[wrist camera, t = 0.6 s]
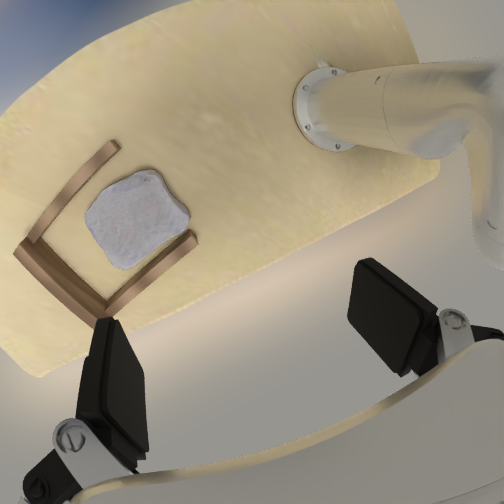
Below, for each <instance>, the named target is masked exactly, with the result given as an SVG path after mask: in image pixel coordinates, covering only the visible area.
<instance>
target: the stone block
mask: <svg viewBox="0 0 504 504" xmlns="http://www.w3.org/2000/svg"><path fill="white" fill-rule="evenodd" d="M190 217H191V216H190V214H189V212H188V210H187V208H186V207H185V206H184V205H183V204H182V203H181V202H180V201H178V200H177V199H176V198H175V197H174V196H173V195H171V193H170V192H169V191H168V189H167V187H166V183H165V182H164V180H163V178H162V176H161V175H160V174H159V173H157V172H156V171H155V170H150V169H149V170H142V171H138V172H136V173H134V174H133V175H131V176H129V177H127V178H125V179H122V180H120V181H118V182H117V183H115V184H113V185H111V186H109V187H108V188H106V189H104V190H103V191H102V192H101V193H100V195H99V196H98V197H97V199H96V200H95V201H94V202H93V204H92V206H91V207H90V208H89V209H88V210H87V211H86V213H85V222H86V225H87V227H88V229H89V230H90V232H91V233H92V235H93V237H94V238H95V240H96V241H97V243H98V244H99V246H100V247H101V248H102V249H103V250H104V252H105V254H106V256H107V258H108V260H109V261H110V262H111V264H112V265H114V267H116V268H119V269H120V268H121V269H122V270H128V269H130V268H131V267H133V266H135V265H136V264H138V263H139V262H140V261H141V260H143V259H144V258H146V257H147V256H148V255H149V254H151V253H152V252H153V251H154V250H155V249H156V248H158V247H159V246H160V245H161V244H163V243H164V242H166V241H168V240H169V239H170V238H172V237H174V236H177V235H179V234H180V233H181V232H183V231H184V230H185V229H186V228H187V226H188V224H189V220H190Z"/></svg>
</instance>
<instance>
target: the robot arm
mask: <svg viewBox="0 0 504 504" xmlns="http://www.w3.org/2000/svg"><path fill="white" fill-rule="evenodd" d="M302 87H303V88H304V90H303V88H302ZM293 110H294V116H295V119H296V122H297V125H298V127H299V128H300V130H301V132H302V133H303V135H304V136H305V137H306V138H307V139H308V140H309V141H310V142H311V143H312V144H314V145H315V146H317V147H319V148H321V149H324V150H328V151H334V152H340V151H345V150H348V149H350V148H353V147H354V146H355V145H362V146H367V147H373V148H378V149H382V150H387V151H392V152H396V153H400V154H405V155H409V156H413V157H417V158H421V159H430V160H433V159H439V158H442V157H444V156H447V155H448V154H450V153H451V152H452V151H454V150H455V149H456V148H457V147H458V146H460V145H461V144H463V145H464V146H465V148H466V151H467V155H468V161H469V168H470V176H471V200H472V230H473V237H474V241H475V244H476V246H477V249H478V250H479V252H480V253H481V255H482V257H483V258H484V259H485V260H486V261H487V262H488V263H489V264H491V265H492V266H494V267H496V268H497V269H500V270H502V271H504V55H503V54H500V55H498V54H497V55H487V56H479V57H472V58H466V59H459V60H451V61H443V62H432V63H421V64H408V65H398V66H389V67H382V68H375V69H368V70H362V71H356V72H351V73H347V72H346V71H344V70H341V69H338V68H334V67H324V68H319V69H316V70H313V71H312V72H310V73H308V74H307V75H306V76H304V77H303V78H302V80H301V81H300V82H299V84H298V86H297V88H296V90H295V94H294V99H293ZM305 126H306V129H305ZM335 146H336V147H335ZM437 310H438V308H437V307H436V306H435V305H434V304H432V303H431V302H430V301H429V300H427V299H426V298H425V297H424V296H422V295H421V294H420V293H419V292H417V291H416V290H415V289H413V288H412V287H411V286H409V285H408V284H407V283H405V282H404V281H403V280H402V279H400V278H399V277H398V276H396V275H395V274H394V273H392V272H391V271H390V270H388V269H387V268H386V267H384V266H383V265H381V264H380V263H379V262H377V261H376V260H375V259H373V258H366V259H362V260H359V261H358V262H357V265H356V266H355V268H354V275H353V282H352V289H351V295H350V302H349V308H348V314H347V318H348V320H349V322H350V324H351V325H352V326H353V327H354V328H355V329H356V330H357V332H358V333H359V334H360V335H361V336H362V337H363V338H364V339H365V340H366V341H367V343H368V344H369V345H370V346H371V347H372V349H373V350H374V351H375V352H376V353H377V354H378V355H379V357H380V358H381V359H382V360H383V361H384V362H385V363H386V364H387V366H388V367H389V368H390V369H391V370H392V371H393V372H394V373H397V374H398V375H399V376H400V377H403V376H404V375H406V374H408V373H409V372H410V371H411V369H412V370H413V371H414V381H413V382H412V383H410V384H409V385H407V386H406V387H404V388H402V389H401V390H399V391H397V392H396V393H394V394H392V395H391V396H389V397H387V398H385V399H384V400H382V401H380V402H379V403H376V404H374V405H373V406H371V407H369V408H367V409H365V410H363V411H361V412H359V413H357V414H355V415H353V416H351V417H349V418H347V419H345V420H343V421H341V422H339V423H336V424H334V425H332V426H330V427H327V428H325V429H323V430H320V431H318V432H315V433H313V434H310V435H307V436H305V437H302V438H300V439H297V440H294V441H291V442H288V443H285V444H282V445H280V446H277V447H274V448H270V449H267V450H264V451H260V452H257V453H253V454H249V455H246V456H242V457H238V458H234V459H229V460H225V461H220V462H216V463H210V464H206V465H200V466H194V467H188V468H182V469H175V470H167V471H159V472H151V473H143V474H142V473H141V472H140V471H139V470H137V469H136V467H137V460H146V455H145V452H149V442H148V432H147V420H146V405H145V384H144V383H145V382H144V372H143V369H142V367H141V365H140V363H139V361H138V359H137V357H136V355H135V353H134V351H133V350H132V347H131V345H130V343H129V341H128V339H127V337H126V335H125V333H124V331H123V328H122V326H121V324H120V322H119V320H114V318H113V317H105V318H99V319H97V321H96V325H95V329H94V333H93V337H92V342H91V346H90V351H89V356H87V357H86V358H85V361H84V365H83V370H82V375H81V381H80V388H79V394H78V401H77V409H76V418H69V419H65V420H63V421H62V422H60V423H59V424H58V425H57V426H56V428H55V430H54V432H53V437H52V440H53V445H54V449H53V450H52V451H51V452H50V453H49V454H48V455H47V456H46V457H45V458H44V459H42V460H41V461H40V462H39V463H38V464H37V465H36V466H35V467H34V468H33V469H32V470H31V471H29V472H28V473H27V475H26V476H25V478H24V480H23V491H24V494H25V498H22V497H21V498H20V500H19V502H18V504H504V333H503V332H502V331H500V330H498V329H494V328H488V327H481V326H474V325H470V323H469V321H468V319H467V317H466V316H465V315H464V314H463V313H462V312H460V311H458V310H455V309H444V310H442V311H441V312H440V314H439V316H437V315H436V312H437Z"/></svg>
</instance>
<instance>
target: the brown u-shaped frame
mask: <svg viewBox="0 0 504 504" xmlns="http://www.w3.org/2000/svg"><path fill="white" fill-rule="evenodd" d="M120 149H121V148H120V147H119V146H118V145H117V144H116V142H115V141H114V140H111V141H108V142H107V143H106V144H105V145H104V146H103V147H102V148H101V149H100V150H99V151H98V152H97V153H96V154H95V155H94V156H93V157H92V158H91V159H90V160H89V161H88V162H87V163H86V164H85V165H84V166H83V167H82V168H81V169H80V171H79V172H78V173H77V174H76V175H75V176H74V177H73V178H72V179H71V180H70V182H69V183H68V184H67V185H66V186H65V187H64V188H63V190H62V191H61V192H60V193H59V194H58V196H57V197H56V198H55V199H54V201H53V202H52V203H51V204H50V206H49V207H48V208H47V209H46V211H45V212H44V213H43V215H42V216H41V217H40V219H39V220H38V221H37V223H36V224H35V226H34V227H33V228H32V230H31V231H30V233H29V234H28V236H27V237H26V238H25V239H24V240H23V241H22V242H21V243H20V244H19V245H18V246H17V248H16V250H15V251H14V253H13V255H14V256H15V257H16V258H17V259H18V260H19V261H20V262H21V264H22V265H23V266H24V267H25V268H26V269H27V270H28V271H29V272H30V273H31V274H32V275H33V276H34V277H35V278H36V279H37V280H38V281H39V282H40V283H41V284H42V285H43V286H44V287H45V288H46V289H47V290H48V291H49V292H50V293H51V294H53V295H54V296H55V297H56V298H57V299H58V300H59V301H60V302H61V303H62V304H64V305H65V306H66V307H67V308H68V309H69V310H70V311H72V312H73V313H74V314H75V315H76V316H78V317H79V318H80V319H81V320H82V321H84V322H85V323H86V324H87V325H89V326H90V327H91V328H93V329H95V325H96V321H97V319H99V318H105V317H113V316H114V315H115V314H116V313H117V312H118V311H120V310H121V309H122V308H123V307H124V306H125V305H127V304H128V303H129V302H130V301H131V300H132V299H133V298H135V297H136V296H137V295H138V294H139V293H140V292H142V291H143V290H144V289H145V288H146V287H148V286H149V285H150V284H151V283H152V282H153V281H155V280H156V279H157V278H158V277H159V276H161V275H162V274H163V273H164V272H165V271H167V270H168V269H169V268H170V267H171V266H173V265H174V264H175V263H176V262H178V261H179V260H180V259H181V258H182V257H184V256H185V255H186V254H187V253H189V252H190V251H191V250H192V249H194V248H195V247H196V246H197V245H199V244H198V240H197V237H196V236H195V235H194V234H193V232H192V231H191V230H190V229H189V230H188V231H187V232H185V233H184V234H183V235H182V236H181V237H179V238H178V239H177V240H176V241H175V242H173V243H172V244H171V245H170V246H169V247H167V248H166V249H165V250H164V251H163V252H162V253H160V254H159V255H158V256H157V257H156V258H154V259H153V260H152V261H151V262H150V263H149V264H148V265H146V266H145V267H144V268H143V269H142V270H141V271H140V272H138V273H137V274H136V275H135V276H134V277H133V278H132V279H131V280H129V281H128V282H127V283H126V284H125V285H124V286H123V287H122V288H121V289H119V290H118V291H117V292H116V293H115V294H114V295H113V296H112V297H111V298H110V299H109V300H107V301H106V300H105V299H103V298H102V297H101V296H100V295H99V294H98V293H97V292H96V291H94V290H93V289H92V288H91V287H90V286H89V285H88V284H87V283H86V282H85V281H83V280H82V279H81V278H80V277H79V276H78V275H77V274H76V273H75V272H74V271H73V270H72V269H71V268H70V267H69V266H68V265H67V264H66V263H65V262H64V261H63V260H62V259H61V258H60V257H59V256H58V255H57V254H56V253H55V252H54V251H53V250H52V249H51V248H50V247H49V246H48V245H47V243H46V242H45V241H44V240H43V239H42V238H41V236H42V235H43V233H44V232H45V231H46V229H47V228H48V227H49V225H50V224H51V223H52V222H53V220H54V219H55V218H56V217H57V215H58V214H59V213H60V212H61V211H62V209H63V208H64V207H65V206H66V205H67V203H68V202H69V201H70V200H71V199H72V198H73V197H74V195H75V194H76V193H77V192H78V191H79V190H80V189H81V188H82V187H83V186H84V184H85V183H86V182H87V181H88V180H89V179H90V178H91V177H92V176H93V175H94V174H95V173H96V172H97V171H98V170H99V169H100V168H101V167H102V166H103V165H104V164H105V163H106V162H107V161H108V160H109V159H110V158H111V157H112V156H113V155H114V154H116V153H117V152H118V151H119V150H120Z"/></svg>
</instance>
